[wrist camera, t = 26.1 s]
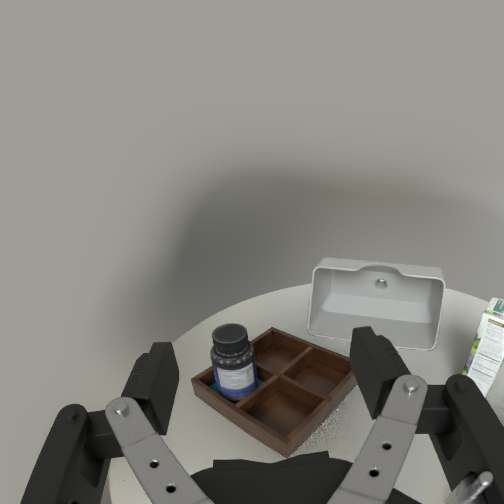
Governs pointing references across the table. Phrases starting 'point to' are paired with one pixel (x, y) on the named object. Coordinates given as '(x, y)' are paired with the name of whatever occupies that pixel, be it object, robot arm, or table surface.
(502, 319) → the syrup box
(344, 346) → the table surface
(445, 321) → the table surface
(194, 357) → the table surface
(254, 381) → the pill bottle
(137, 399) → the robot arm
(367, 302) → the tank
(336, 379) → the grid
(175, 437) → the table surface
